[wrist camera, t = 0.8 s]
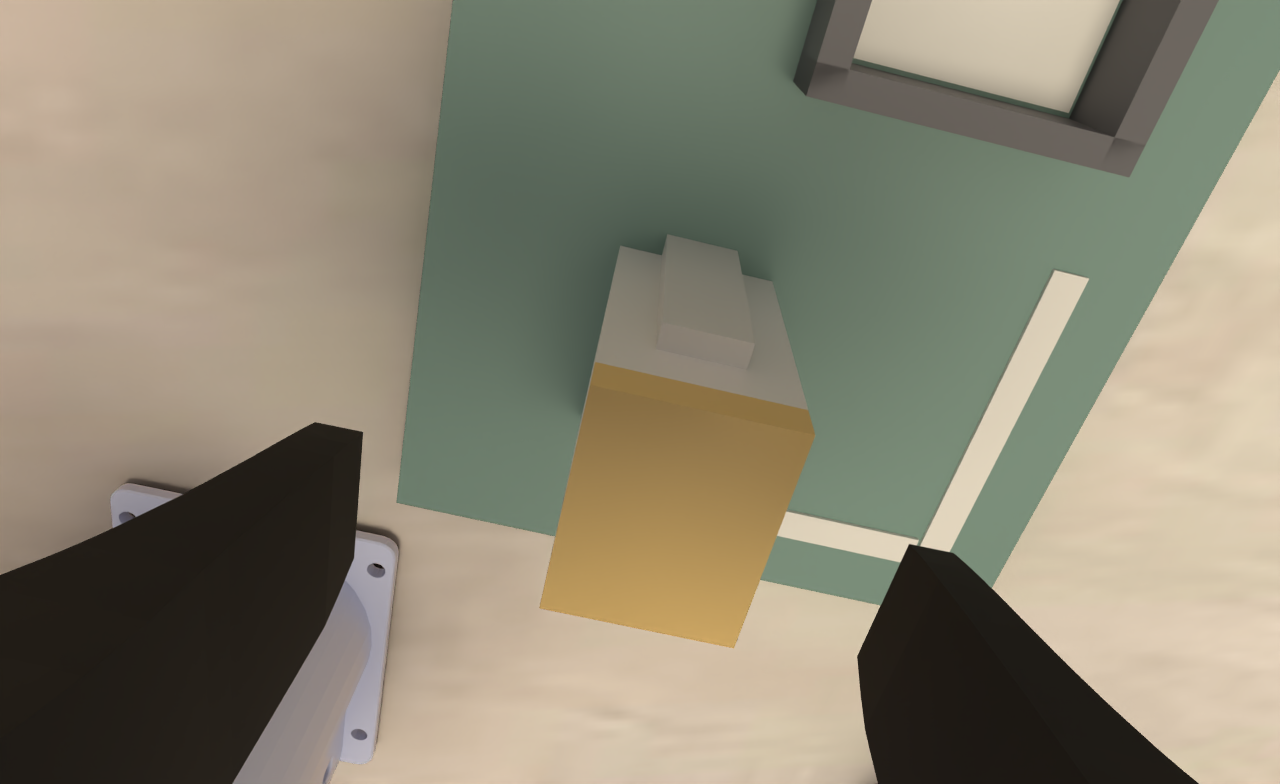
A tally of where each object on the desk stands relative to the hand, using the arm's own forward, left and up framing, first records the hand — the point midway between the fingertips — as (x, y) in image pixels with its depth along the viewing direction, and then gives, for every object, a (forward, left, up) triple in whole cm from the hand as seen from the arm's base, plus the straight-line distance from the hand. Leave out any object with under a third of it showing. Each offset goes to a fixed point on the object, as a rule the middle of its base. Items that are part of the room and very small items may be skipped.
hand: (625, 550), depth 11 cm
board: (+4, -3, -10) cm, 11 cm away
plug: (-1, -1, -9) cm, 9 cm away
